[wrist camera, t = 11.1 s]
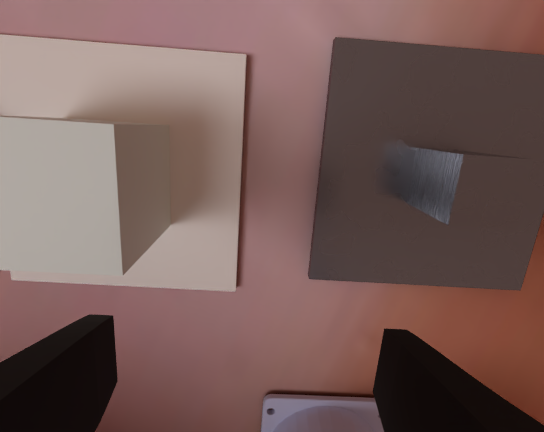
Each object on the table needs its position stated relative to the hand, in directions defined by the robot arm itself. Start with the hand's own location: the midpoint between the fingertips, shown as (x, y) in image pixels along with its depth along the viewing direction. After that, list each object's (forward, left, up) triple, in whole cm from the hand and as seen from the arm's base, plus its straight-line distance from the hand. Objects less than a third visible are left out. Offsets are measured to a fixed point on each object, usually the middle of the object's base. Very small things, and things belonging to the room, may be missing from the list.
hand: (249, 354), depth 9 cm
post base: (+4, -9, -9) cm, 14 cm away
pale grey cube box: (+3, +7, -9) cm, 12 cm away
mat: (+3, +7, -9) cm, 12 cm away
